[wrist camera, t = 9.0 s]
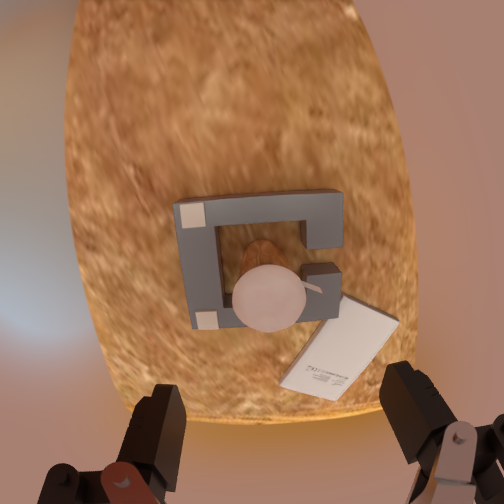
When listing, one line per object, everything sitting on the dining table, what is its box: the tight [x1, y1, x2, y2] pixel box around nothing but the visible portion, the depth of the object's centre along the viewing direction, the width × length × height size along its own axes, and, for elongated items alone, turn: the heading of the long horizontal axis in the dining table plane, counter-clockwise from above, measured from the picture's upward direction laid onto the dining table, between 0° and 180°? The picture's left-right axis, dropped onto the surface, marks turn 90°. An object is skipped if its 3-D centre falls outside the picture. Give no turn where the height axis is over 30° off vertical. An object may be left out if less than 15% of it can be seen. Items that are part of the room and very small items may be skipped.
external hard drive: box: [279, 292, 400, 401], centre depth 28 cm, size 2×8×12 cm
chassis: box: [173, 189, 343, 330], centre depth 24 cm, size 11×13×3 cm
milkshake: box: [232, 239, 323, 333], centre depth 20 cm, size 4×5×10 cm
